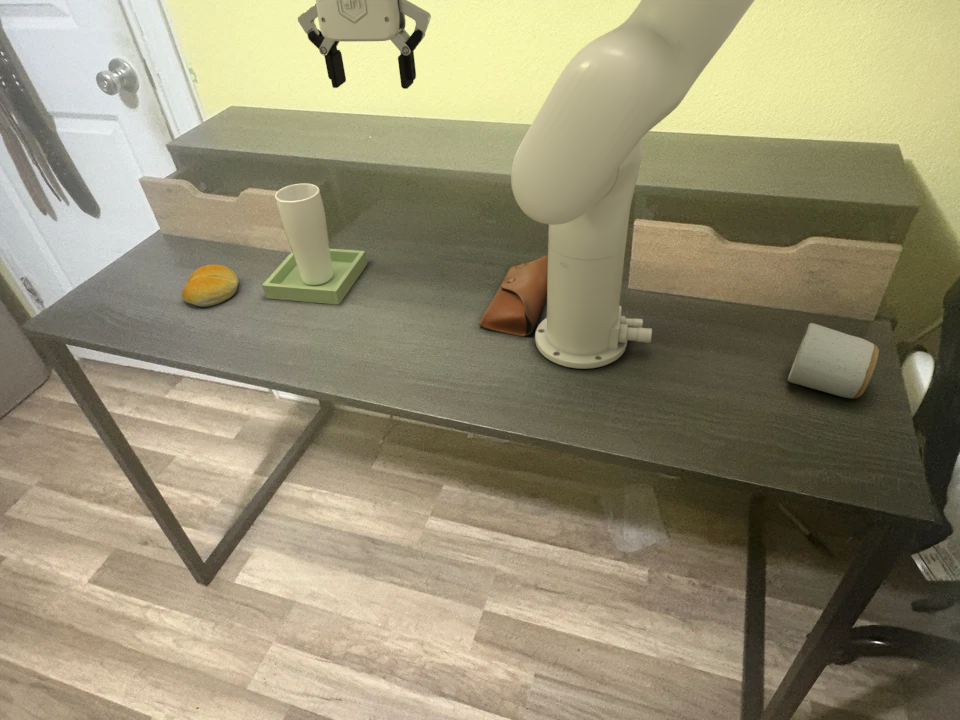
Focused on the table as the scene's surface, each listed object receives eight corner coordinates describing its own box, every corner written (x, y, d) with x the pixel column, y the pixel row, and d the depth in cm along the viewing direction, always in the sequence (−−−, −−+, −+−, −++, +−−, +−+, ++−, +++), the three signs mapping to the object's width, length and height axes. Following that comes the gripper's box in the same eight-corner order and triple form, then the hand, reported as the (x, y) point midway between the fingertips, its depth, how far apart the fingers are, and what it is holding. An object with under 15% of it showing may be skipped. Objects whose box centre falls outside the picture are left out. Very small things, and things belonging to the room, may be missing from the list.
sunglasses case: (508, 264, 104) (528, 234, 100) (544, 286, 105) (565, 258, 100) (476, 327, 91) (497, 296, 86) (517, 352, 92) (540, 323, 87)
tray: (367, 263, 108) (365, 250, 106) (339, 304, 98) (336, 291, 97) (300, 258, 110) (296, 246, 109) (265, 298, 101) (261, 285, 99)
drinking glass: (329, 290, 101) (308, 202, 91) (290, 287, 102) (265, 201, 93) (344, 268, 106) (326, 183, 97) (307, 266, 107) (285, 182, 98)
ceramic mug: (857, 414, 74) (880, 362, 70) (783, 393, 78) (800, 343, 73) (865, 363, 81) (886, 314, 77) (797, 346, 85) (813, 298, 80)
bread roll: (179, 311, 99) (170, 289, 97) (196, 280, 106) (188, 260, 104) (232, 306, 100) (224, 285, 97) (245, 277, 106) (238, 256, 104)
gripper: (267, -63, 72) (301, 93, 83) (411, -69, 69) (427, 95, 80) (295, -70, 78) (324, 76, 89) (430, -76, 74) (443, 77, 85)
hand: (373, 85), depth 84 cm, fingers open, 9 cm apart
